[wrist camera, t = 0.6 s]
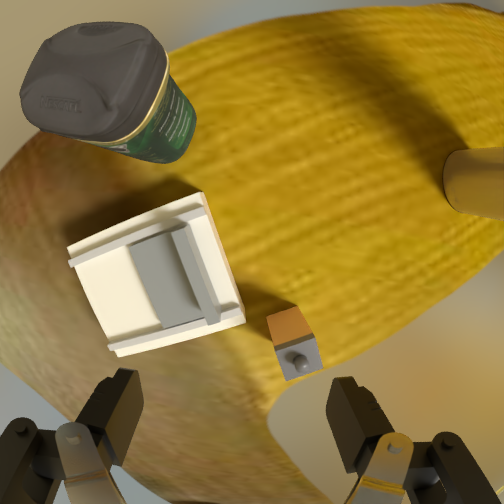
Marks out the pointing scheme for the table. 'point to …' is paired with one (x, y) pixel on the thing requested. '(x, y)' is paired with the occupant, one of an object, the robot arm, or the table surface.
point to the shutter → (176, 278)
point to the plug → (294, 343)
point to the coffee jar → (109, 92)
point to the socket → (131, 286)
